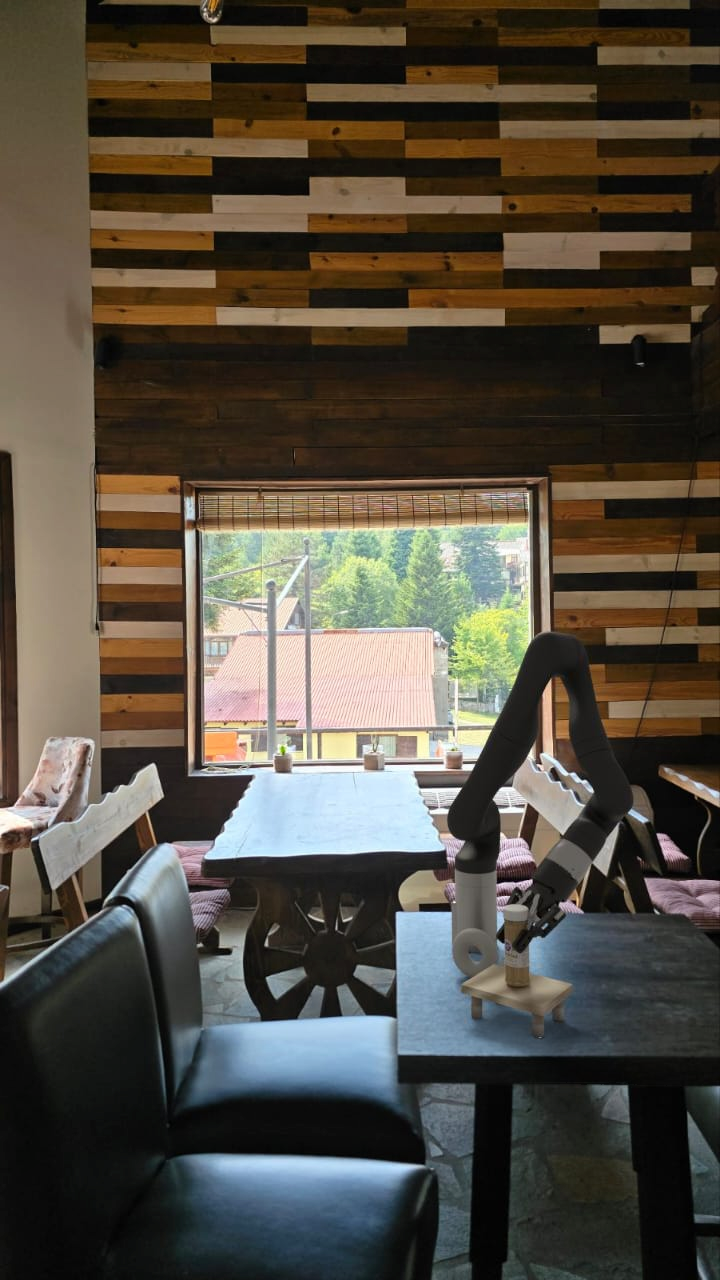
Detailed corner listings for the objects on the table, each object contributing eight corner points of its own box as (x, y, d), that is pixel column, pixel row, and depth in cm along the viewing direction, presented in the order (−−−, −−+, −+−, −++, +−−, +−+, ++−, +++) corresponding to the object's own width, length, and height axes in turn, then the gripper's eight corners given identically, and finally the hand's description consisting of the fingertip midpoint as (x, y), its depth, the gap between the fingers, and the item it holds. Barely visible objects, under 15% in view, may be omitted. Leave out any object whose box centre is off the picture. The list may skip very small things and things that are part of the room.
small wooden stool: (461, 1018, 150) (461, 984, 150) (494, 995, 159) (493, 964, 159) (543, 1043, 140) (543, 1007, 140) (573, 1017, 149) (572, 984, 149)
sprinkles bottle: (499, 982, 149) (497, 907, 150) (515, 975, 153) (513, 901, 153) (520, 989, 146) (518, 912, 147) (536, 982, 149) (533, 906, 150)
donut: (502, 980, 166) (501, 930, 166) (495, 986, 163) (494, 935, 163) (456, 970, 171) (456, 922, 171) (449, 976, 168) (448, 927, 169)
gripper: (527, 848, 159) (473, 920, 154) (574, 866, 146) (517, 945, 141) (550, 873, 161) (498, 945, 156) (599, 892, 148) (543, 972, 143)
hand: (507, 945), depth 149 cm, fingers open, 4 cm apart
